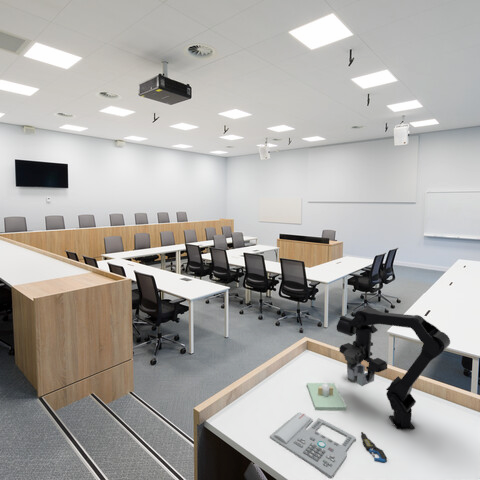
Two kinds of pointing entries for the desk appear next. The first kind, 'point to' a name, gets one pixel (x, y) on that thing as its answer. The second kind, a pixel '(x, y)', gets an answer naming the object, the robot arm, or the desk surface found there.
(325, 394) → the keyed post stand
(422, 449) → the desk surface
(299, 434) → the office telephone
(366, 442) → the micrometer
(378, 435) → the desk surface
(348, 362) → the beverage cup
